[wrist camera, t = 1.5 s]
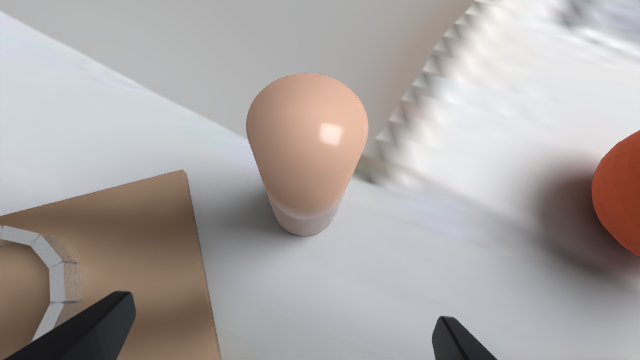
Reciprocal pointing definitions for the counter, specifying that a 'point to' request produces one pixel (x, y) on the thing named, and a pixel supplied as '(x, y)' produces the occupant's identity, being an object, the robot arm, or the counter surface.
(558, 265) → the counter surface
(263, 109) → the beige rounded cylinder
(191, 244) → the walnut board
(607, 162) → the tomato
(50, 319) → the steel collar
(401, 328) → the counter surface
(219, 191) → the counter surface
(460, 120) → the counter surface
